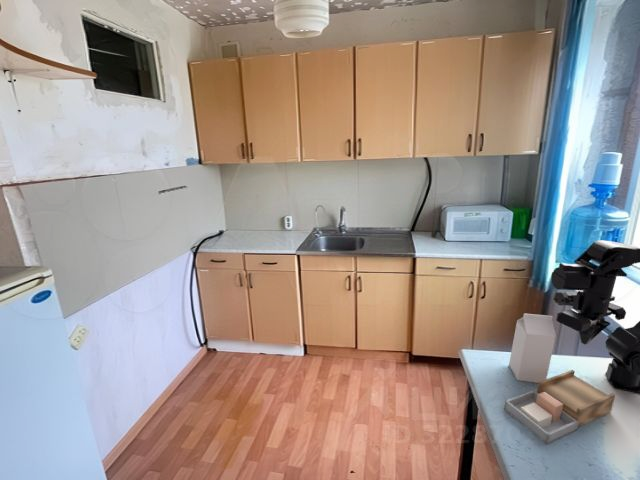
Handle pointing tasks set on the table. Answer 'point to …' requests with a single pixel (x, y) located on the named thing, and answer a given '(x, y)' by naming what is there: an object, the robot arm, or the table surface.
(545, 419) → the tile
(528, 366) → the milk carton
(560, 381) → the wooden box
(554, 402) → the tile
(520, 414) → the tray
